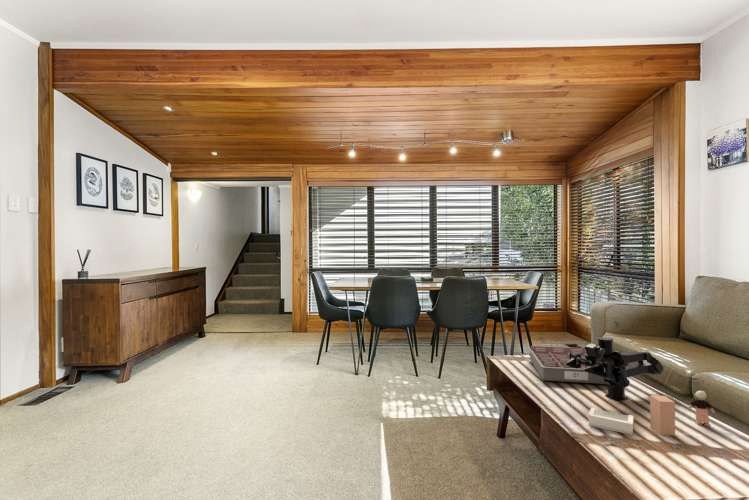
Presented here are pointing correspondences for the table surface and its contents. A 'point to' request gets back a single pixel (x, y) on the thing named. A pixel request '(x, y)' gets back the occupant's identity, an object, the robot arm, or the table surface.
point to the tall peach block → (662, 415)
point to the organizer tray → (561, 365)
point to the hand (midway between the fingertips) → (575, 367)
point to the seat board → (611, 421)
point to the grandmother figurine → (701, 408)
